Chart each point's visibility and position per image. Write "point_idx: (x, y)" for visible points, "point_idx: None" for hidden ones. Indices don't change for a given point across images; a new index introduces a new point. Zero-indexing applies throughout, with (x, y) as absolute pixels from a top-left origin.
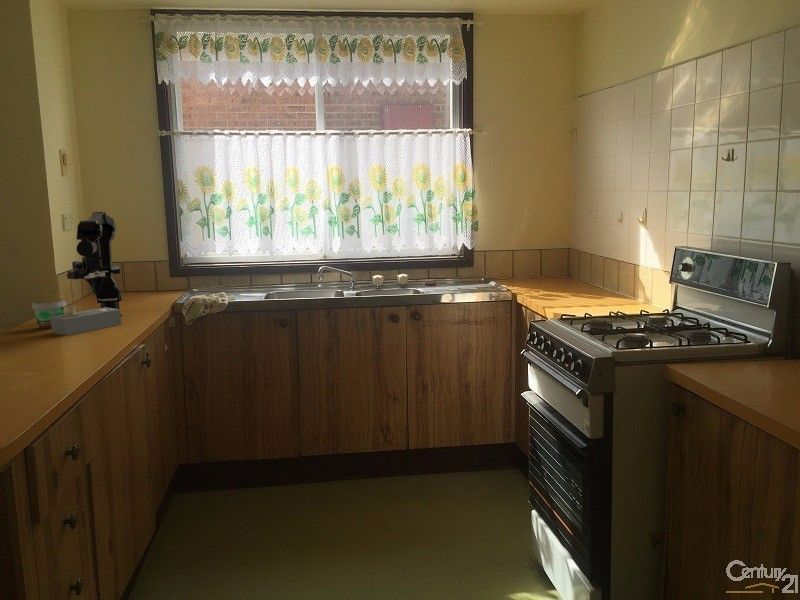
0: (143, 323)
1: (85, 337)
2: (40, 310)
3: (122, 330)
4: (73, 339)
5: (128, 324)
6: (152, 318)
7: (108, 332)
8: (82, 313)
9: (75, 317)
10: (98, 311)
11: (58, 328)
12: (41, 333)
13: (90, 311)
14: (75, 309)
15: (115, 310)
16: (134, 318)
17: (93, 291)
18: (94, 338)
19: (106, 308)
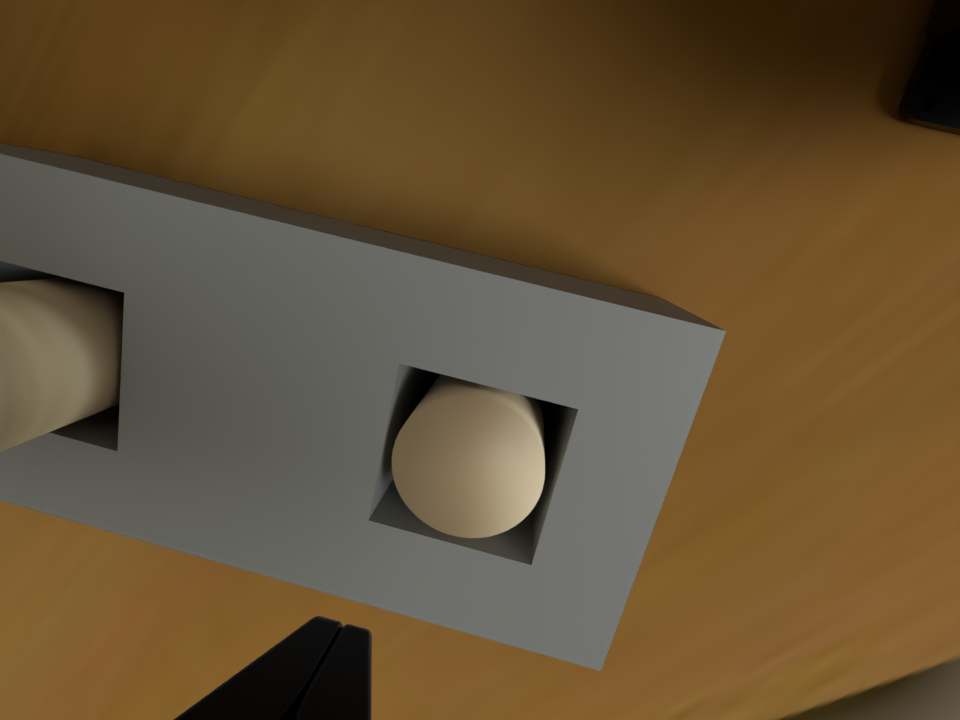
0: (676, 697)
1: (105, 599)
2: None
3: (384, 702)
4: (25, 562)
5: None
6: (936, 638)
7: None
8: (212, 386)
9: (18, 503)
10: (400, 491)
11: None
12: (12, 50)
13: (360, 380)
14: (6, 447)
15: (536, 648)
16: (927, 450)
17: (231, 691)
18: (114, 681)
19: (624, 438)
